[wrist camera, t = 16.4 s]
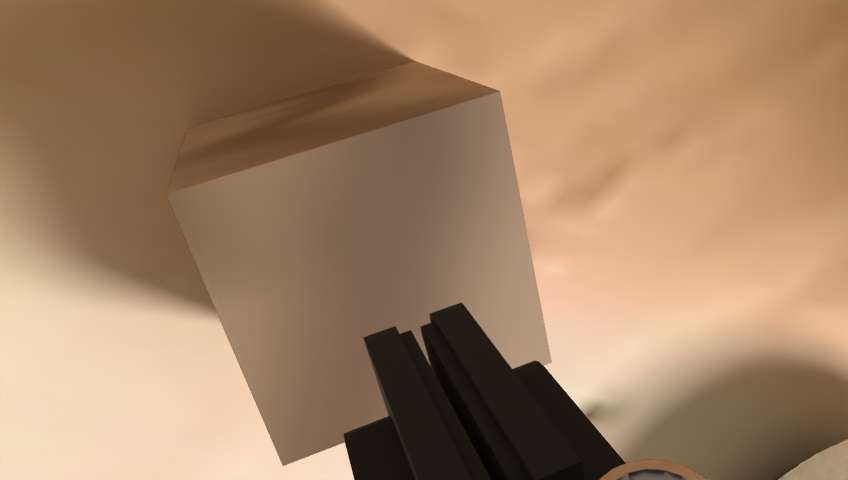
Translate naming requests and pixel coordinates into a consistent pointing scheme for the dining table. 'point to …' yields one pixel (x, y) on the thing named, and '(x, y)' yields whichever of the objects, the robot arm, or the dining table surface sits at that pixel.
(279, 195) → the cube
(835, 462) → the cereal bowl
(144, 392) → the dining table surface
